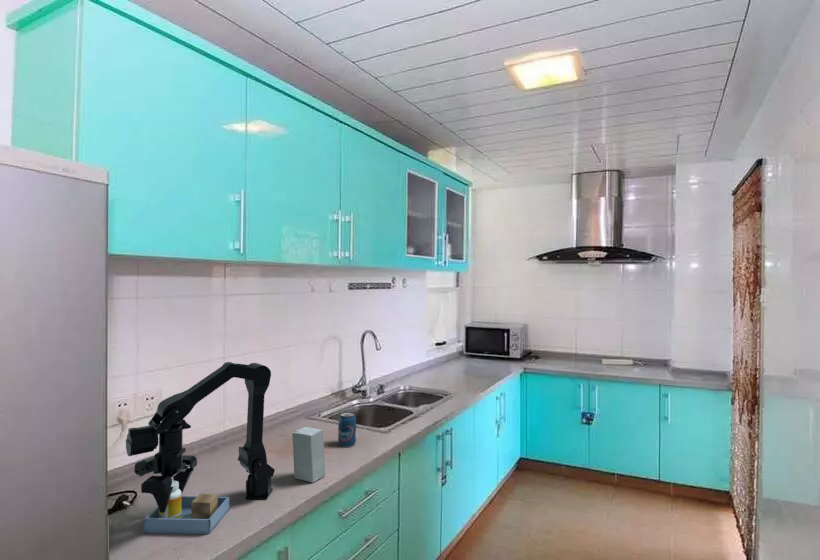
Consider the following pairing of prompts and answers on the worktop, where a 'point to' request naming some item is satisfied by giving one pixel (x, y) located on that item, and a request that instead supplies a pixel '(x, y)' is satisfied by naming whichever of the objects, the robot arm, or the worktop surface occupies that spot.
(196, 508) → the cube
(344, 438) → the soda can
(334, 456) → the worktop surface
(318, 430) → the skincare box
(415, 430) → the worktop surface
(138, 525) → the worktop surface
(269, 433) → the worktop surface
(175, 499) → the supplement bottle
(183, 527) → the tote
